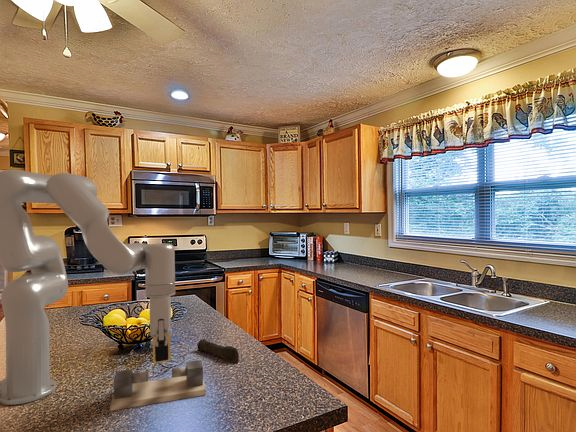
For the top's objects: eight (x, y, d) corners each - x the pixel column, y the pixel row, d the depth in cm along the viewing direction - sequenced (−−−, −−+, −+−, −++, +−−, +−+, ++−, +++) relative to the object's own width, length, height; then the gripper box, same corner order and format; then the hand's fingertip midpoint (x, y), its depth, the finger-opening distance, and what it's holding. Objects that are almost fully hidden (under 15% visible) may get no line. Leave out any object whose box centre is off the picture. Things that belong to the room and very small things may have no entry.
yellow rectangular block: (153, 363, 92) (152, 336, 92) (153, 357, 96) (153, 332, 96) (170, 360, 94) (170, 334, 94) (170, 355, 98) (169, 330, 98)
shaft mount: (110, 410, 86) (110, 384, 86) (115, 391, 96) (115, 367, 96) (205, 394, 94) (205, 370, 94) (201, 378, 104) (201, 356, 104)
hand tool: (196, 351, 125) (196, 338, 125) (205, 348, 128) (205, 335, 128) (231, 367, 112) (231, 352, 112) (241, 362, 115) (241, 348, 115)
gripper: (146, 285, 102) (148, 348, 102) (144, 297, 86) (145, 372, 86) (174, 282, 104) (175, 344, 104) (176, 294, 88) (177, 367, 88)
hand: (161, 356), depth 95 cm, fingers closed on yellow rectangular block, 4 cm apart
